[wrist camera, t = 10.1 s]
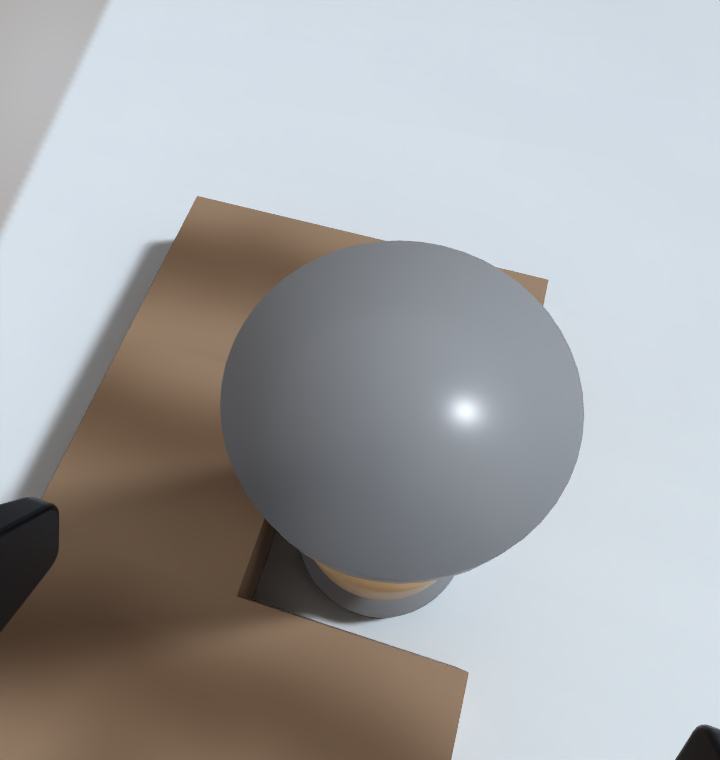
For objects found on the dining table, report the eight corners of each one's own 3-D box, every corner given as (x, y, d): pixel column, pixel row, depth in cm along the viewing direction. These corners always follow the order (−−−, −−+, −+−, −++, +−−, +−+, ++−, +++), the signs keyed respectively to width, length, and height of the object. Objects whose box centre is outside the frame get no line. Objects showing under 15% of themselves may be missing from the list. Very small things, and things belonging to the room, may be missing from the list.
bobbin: (440, 640, 19) (566, 656, 7) (278, 588, 20) (140, 521, 8) (476, 478, 21) (620, 276, 9) (329, 436, 22) (283, 198, 10)
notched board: (403, 915, 16) (409, 964, 14) (-36, 745, 18) (-95, 763, 16) (530, 313, 24) (548, 280, 21) (212, 235, 25) (197, 196, 23)
